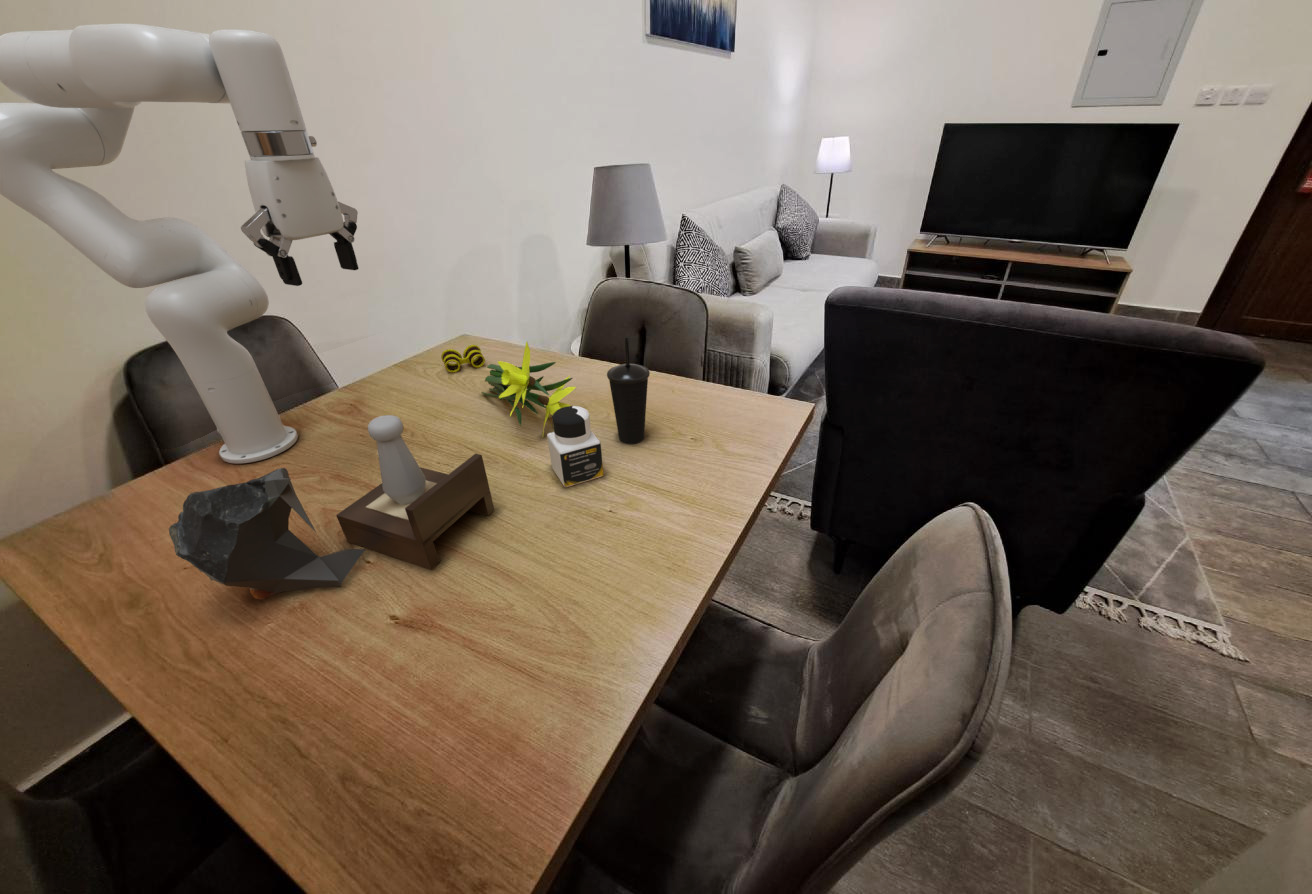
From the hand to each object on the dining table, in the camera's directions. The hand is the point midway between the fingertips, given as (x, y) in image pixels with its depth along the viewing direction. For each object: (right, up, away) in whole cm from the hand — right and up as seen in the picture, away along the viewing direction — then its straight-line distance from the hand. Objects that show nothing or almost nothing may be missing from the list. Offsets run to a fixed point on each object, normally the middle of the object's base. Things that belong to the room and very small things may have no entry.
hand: (323, 276), depth 80 cm
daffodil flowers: (+22, -19, +30) cm, 42 cm away
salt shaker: (+14, -33, -2) cm, 36 cm away
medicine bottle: (+37, -30, +12) cm, 49 cm away
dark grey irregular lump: (+1, -45, -8) cm, 45 cm away
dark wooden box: (+15, -38, +1) cm, 41 cm away
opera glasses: (+2, -6, +53) cm, 53 cm away
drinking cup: (+46, -24, +22) cm, 56 cm away
